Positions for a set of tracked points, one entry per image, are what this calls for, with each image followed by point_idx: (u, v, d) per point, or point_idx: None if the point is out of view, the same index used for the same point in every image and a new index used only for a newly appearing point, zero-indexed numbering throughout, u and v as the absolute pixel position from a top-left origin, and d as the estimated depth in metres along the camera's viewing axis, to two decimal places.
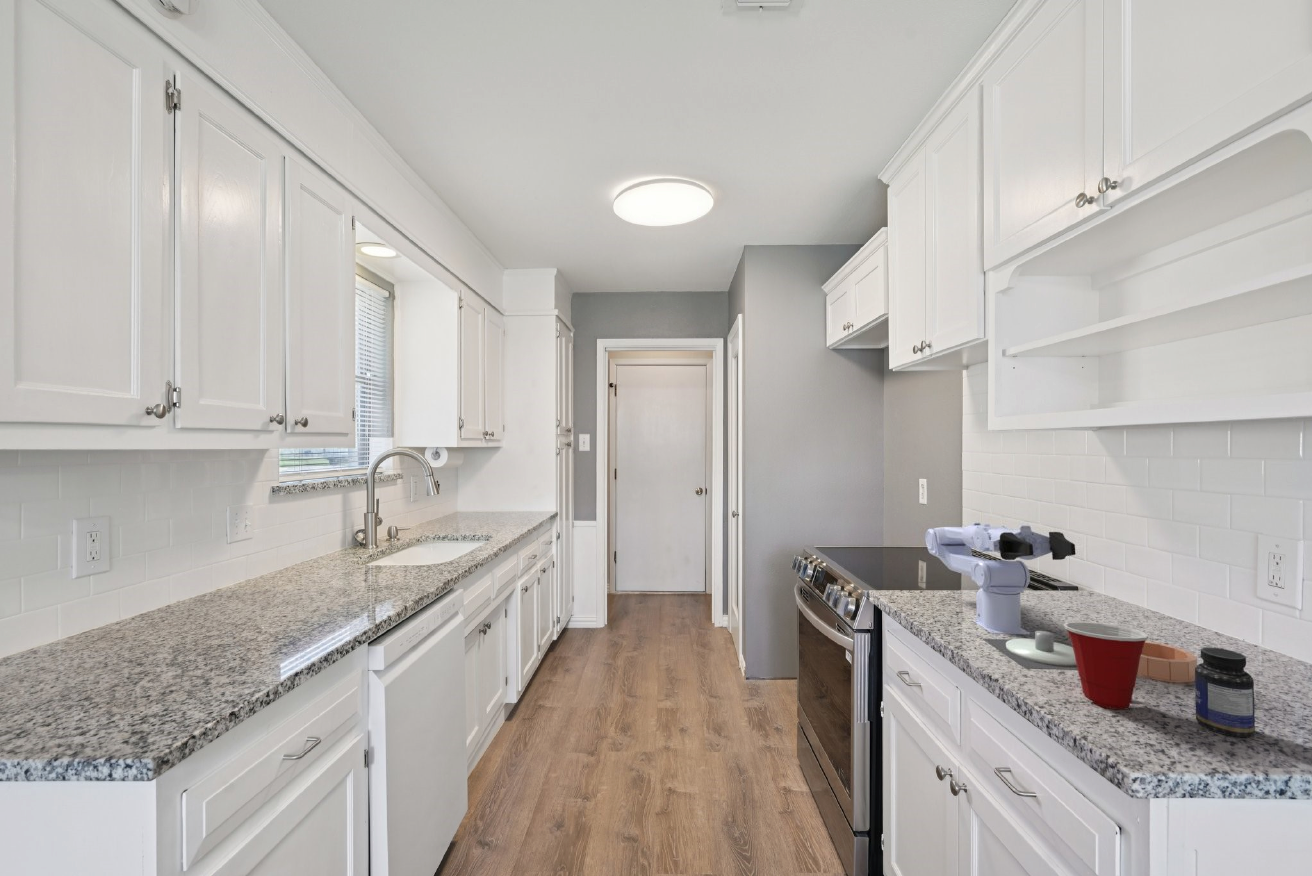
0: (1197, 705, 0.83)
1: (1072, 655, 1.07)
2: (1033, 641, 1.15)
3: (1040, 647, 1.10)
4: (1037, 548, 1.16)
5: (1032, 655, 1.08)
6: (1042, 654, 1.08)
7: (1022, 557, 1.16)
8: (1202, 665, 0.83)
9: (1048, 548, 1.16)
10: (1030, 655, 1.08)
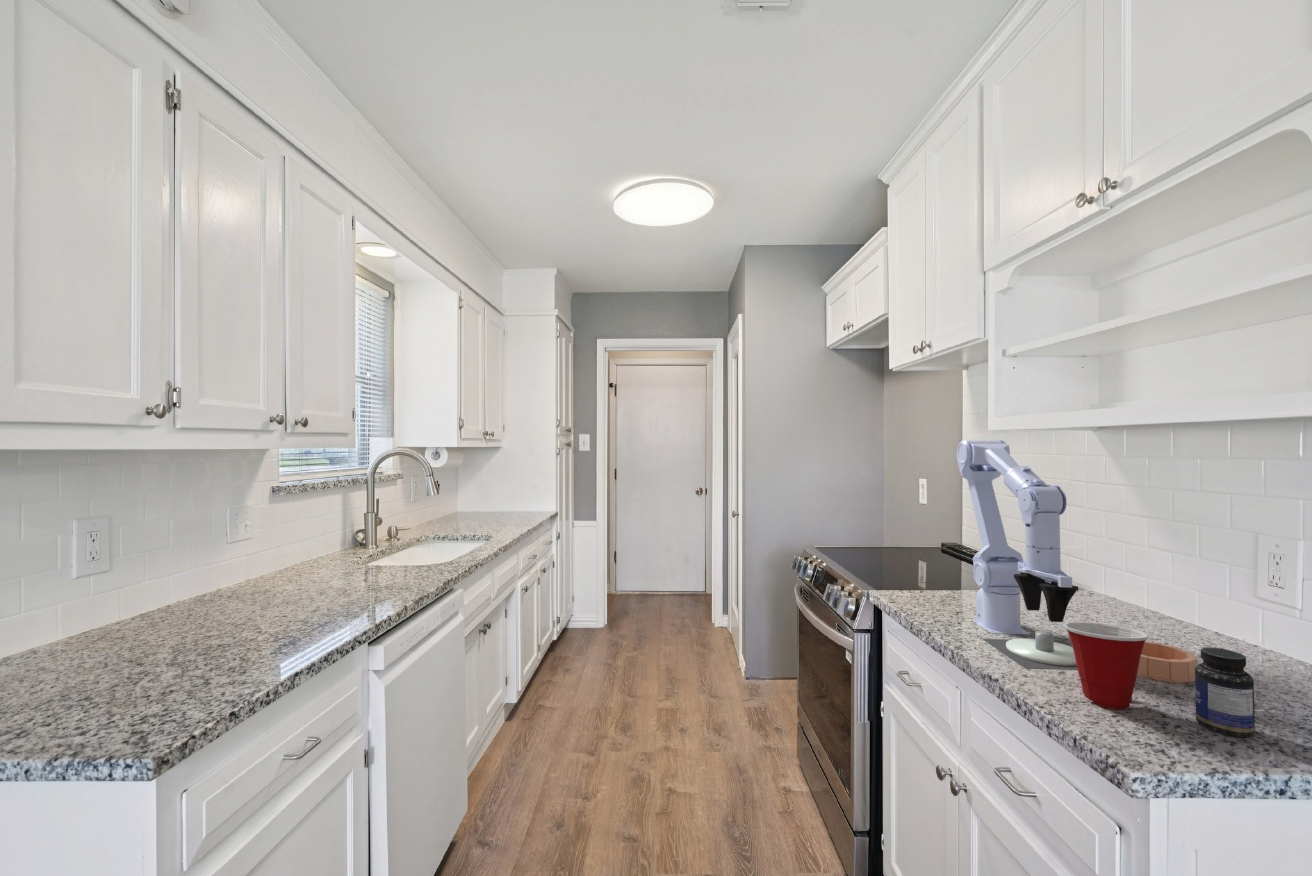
0: (1197, 705, 0.83)
1: (1072, 655, 1.07)
2: (1033, 641, 1.15)
3: (1040, 647, 1.10)
4: None
5: (1032, 655, 1.08)
6: (1042, 654, 1.08)
7: None
8: (1202, 665, 0.83)
9: None
10: (1030, 655, 1.08)
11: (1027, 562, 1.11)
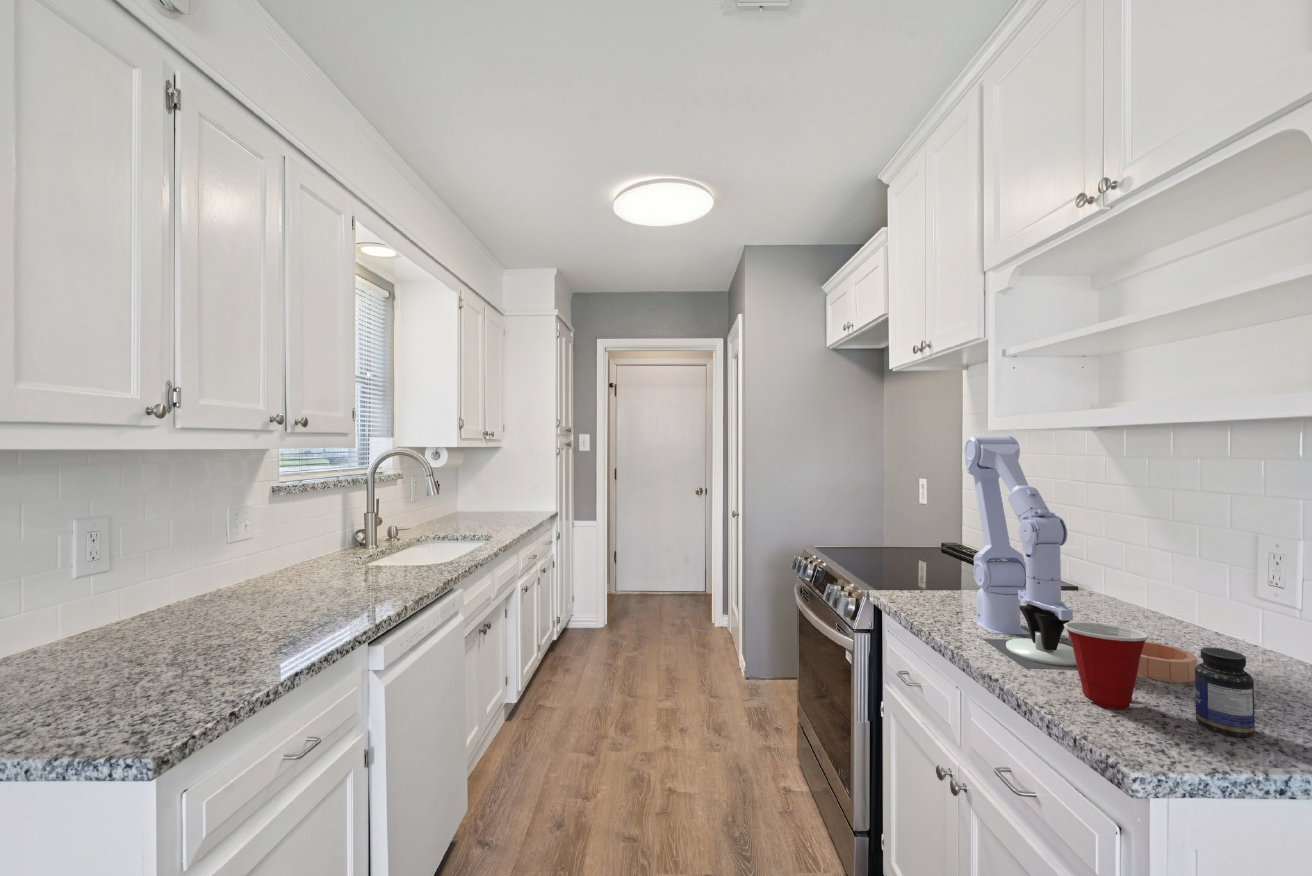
0: (1197, 705, 0.83)
1: (1072, 655, 1.07)
2: None
3: (1040, 647, 1.10)
4: None
5: (1032, 655, 1.08)
6: (1042, 654, 1.08)
7: None
8: (1202, 665, 0.83)
9: None
10: (1030, 655, 1.08)
11: (1028, 593, 1.11)
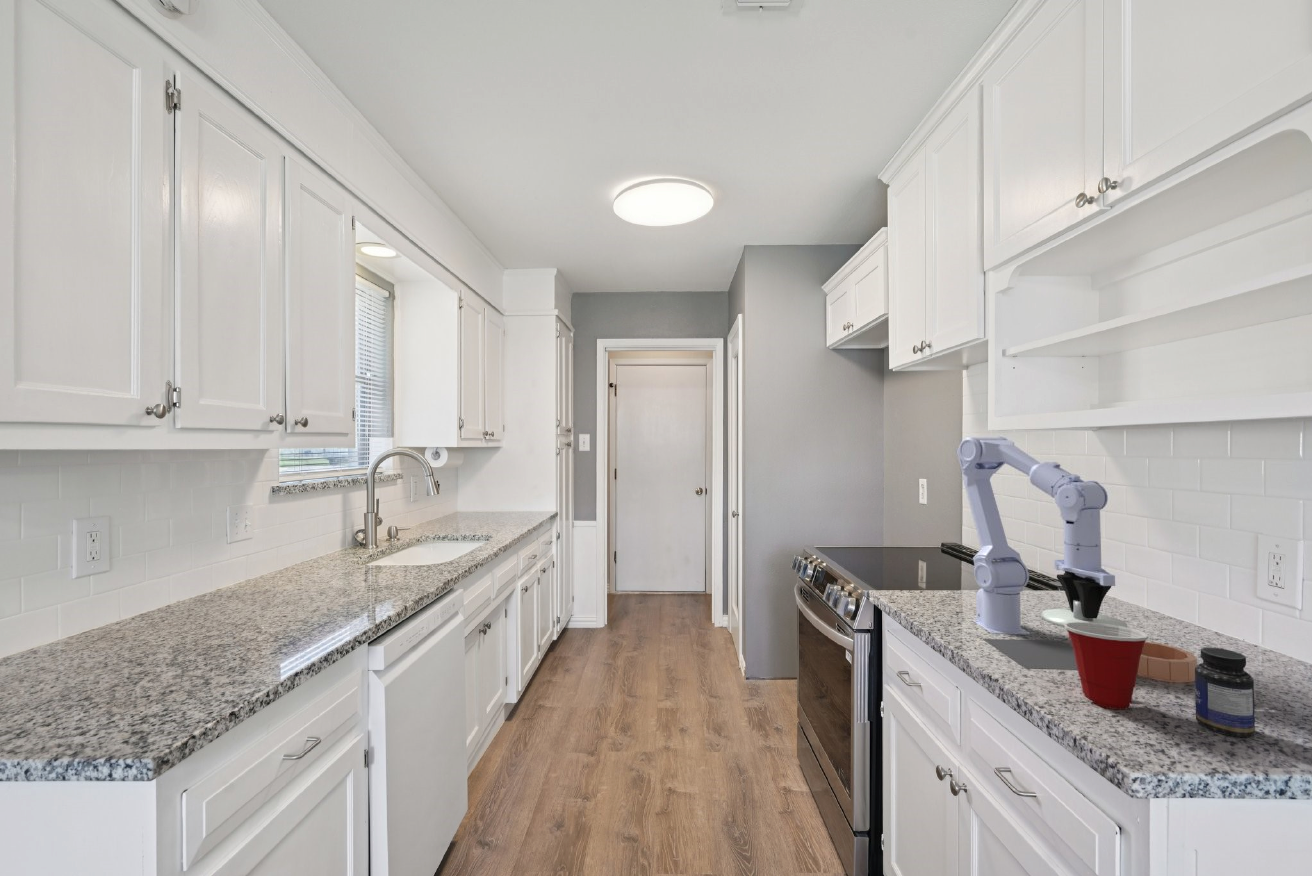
0: (1197, 705, 0.83)
1: (1113, 624, 1.04)
2: (1070, 611, 1.12)
3: (1079, 616, 1.07)
4: None
5: None
6: None
7: None
8: (1202, 665, 0.83)
9: None
10: None
11: (1066, 560, 1.08)
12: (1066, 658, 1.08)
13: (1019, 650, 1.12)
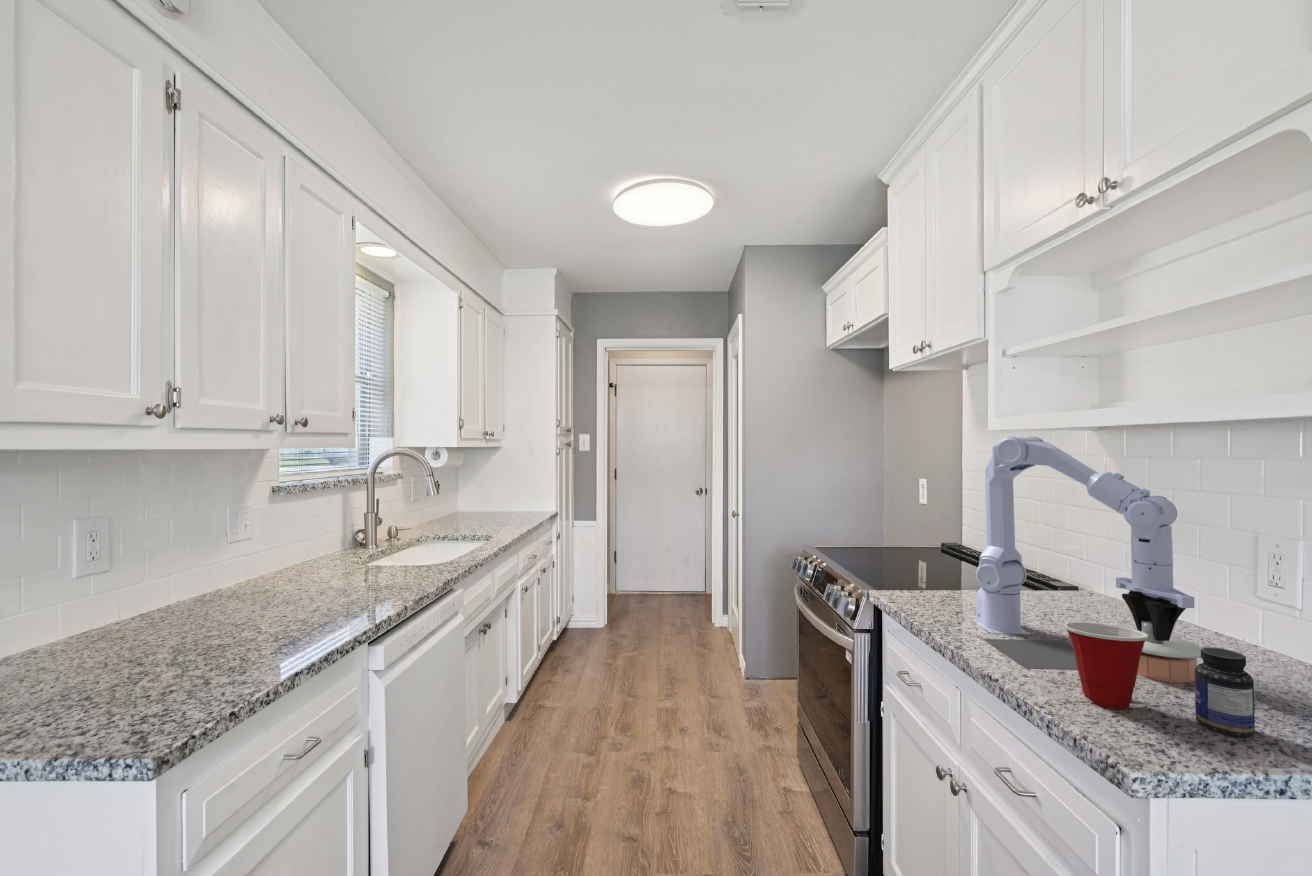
0: (1197, 705, 0.83)
1: (1186, 647, 0.99)
2: None
3: (1149, 638, 1.02)
4: None
5: (1144, 646, 0.99)
6: (1154, 645, 1.00)
7: None
8: (1202, 665, 0.83)
9: None
10: None
11: (1135, 579, 1.03)
12: (1066, 658, 1.08)
13: (1019, 650, 1.12)
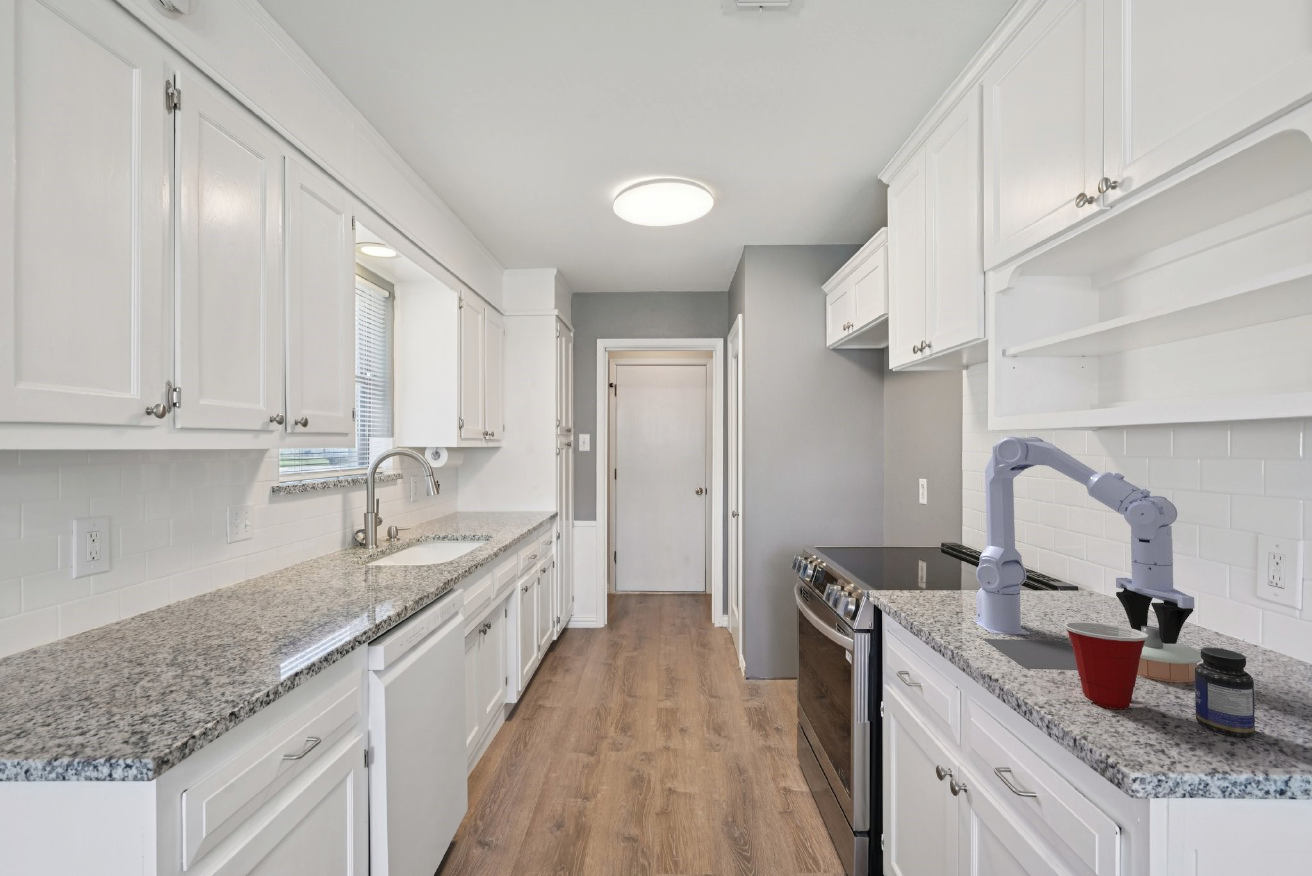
0: (1197, 705, 0.83)
1: (1186, 652, 0.99)
2: None
3: (1149, 643, 1.02)
4: None
5: (1144, 652, 0.99)
6: (1153, 651, 1.00)
7: None
8: (1202, 665, 0.83)
9: None
10: (1142, 652, 0.99)
11: (1135, 579, 1.03)
12: (1066, 658, 1.08)
13: (1019, 650, 1.12)
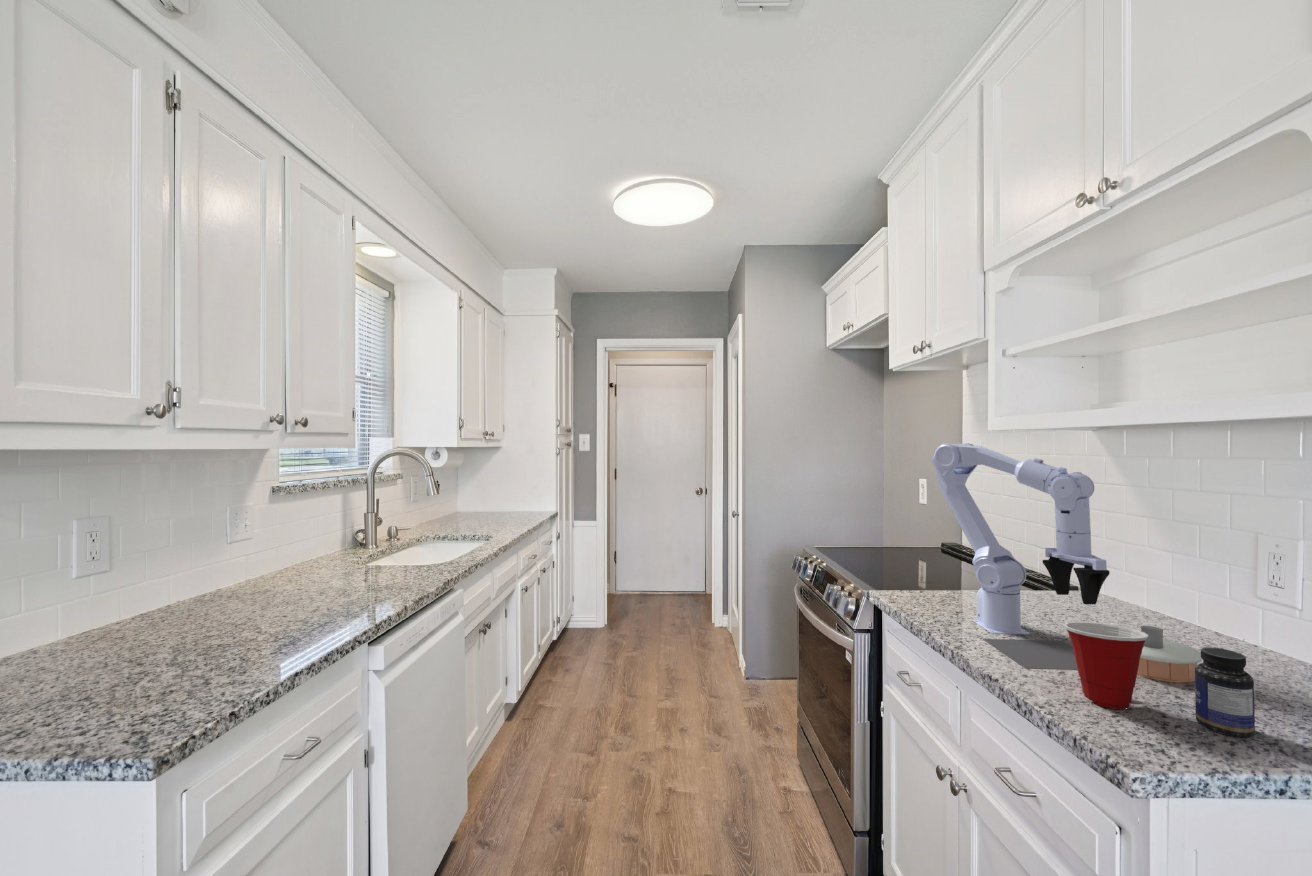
0: (1197, 705, 0.83)
1: (1186, 652, 0.99)
2: None
3: (1149, 643, 1.02)
4: None
5: (1144, 652, 0.99)
6: (1153, 651, 1.00)
7: None
8: (1202, 665, 0.83)
9: None
10: (1142, 652, 0.99)
11: (1059, 547, 1.14)
12: (1066, 658, 1.08)
13: (1019, 650, 1.12)
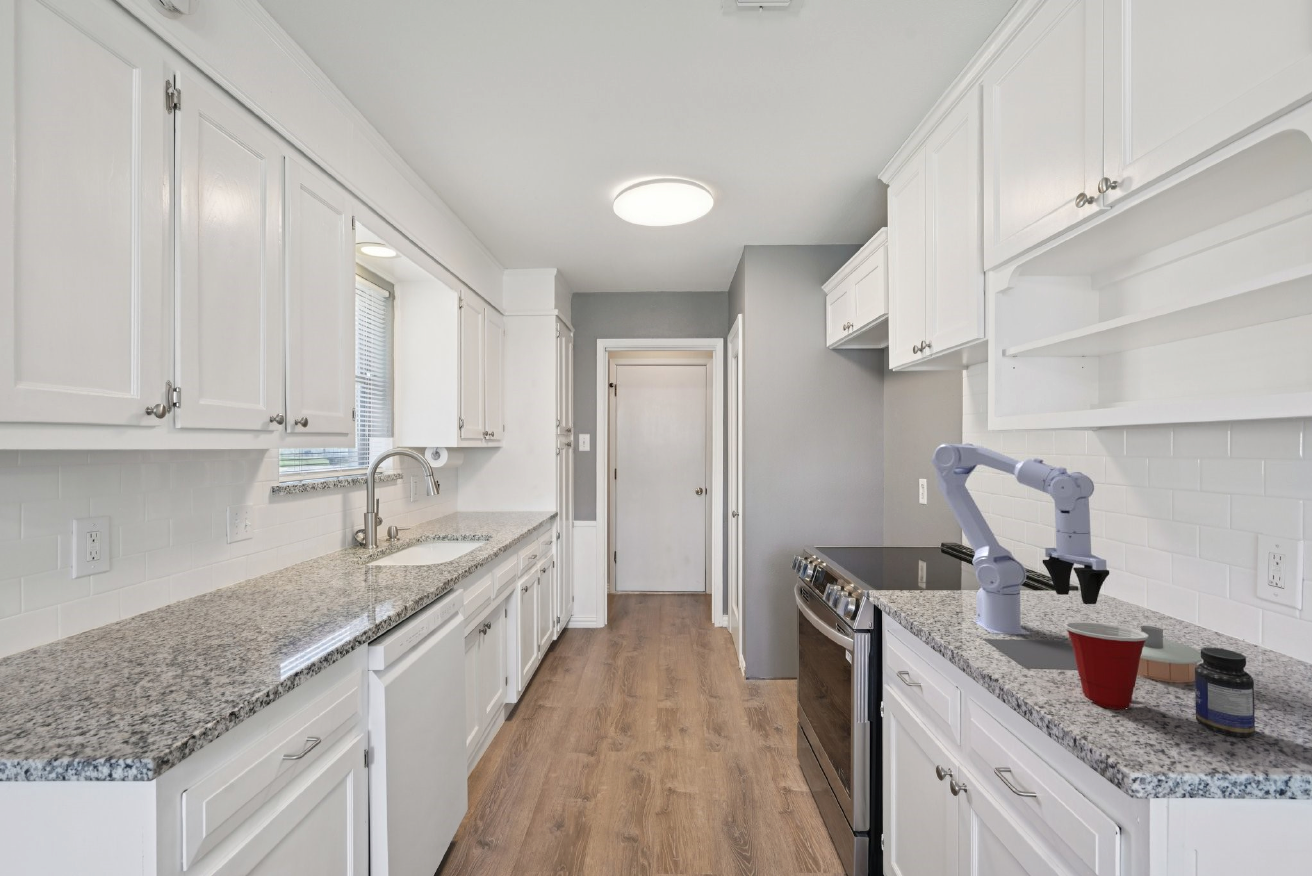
0: (1197, 705, 0.83)
1: (1186, 652, 0.99)
2: None
3: (1149, 643, 1.02)
4: None
5: (1144, 652, 0.99)
6: (1153, 651, 1.00)
7: None
8: (1202, 665, 0.83)
9: None
10: (1142, 652, 0.99)
11: (1058, 547, 1.14)
12: (1066, 658, 1.08)
13: (1019, 650, 1.12)
